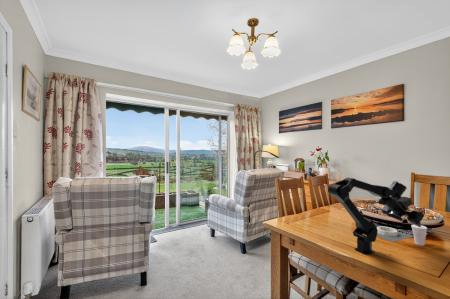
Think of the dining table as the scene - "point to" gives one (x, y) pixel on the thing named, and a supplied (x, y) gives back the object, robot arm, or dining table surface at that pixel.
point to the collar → (387, 231)
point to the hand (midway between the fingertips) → (411, 223)
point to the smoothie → (419, 234)
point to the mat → (393, 239)
